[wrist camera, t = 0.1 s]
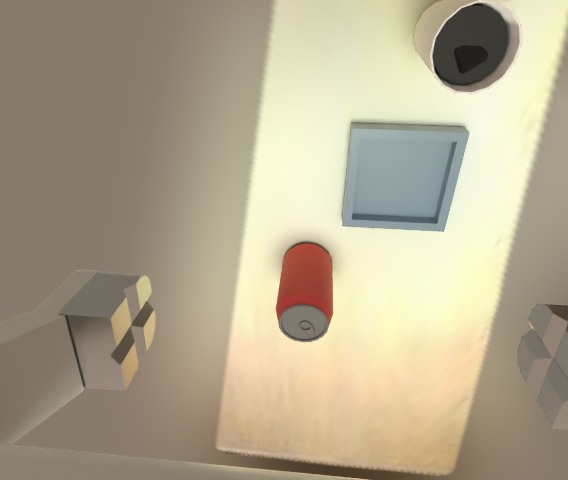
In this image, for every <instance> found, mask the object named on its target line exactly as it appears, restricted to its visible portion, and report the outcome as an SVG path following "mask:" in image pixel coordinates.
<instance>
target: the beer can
mask: <svg viewBox="0 0 568 480" xmlns="http://www.w3.org/2000/svg"><path fill="white" fill-rule="evenodd" d="M276 312H277V318H278V321H279V328H280V329H281V331H282V333H283V334H284V335H286V336H287V337H288V338H290V339H293V340H295V341H300V342H311V341H315V340H318V339H319V338H321V337H323V336H324V334H325V333H326V332H327V330H328V327H329V324H330V321H331V318H332V315H333V281H332V259H331V257H330V255H329V254H328V253H327V252H326V251H325V250H324V249H323V248H321V247H319V246H317V245H314V244H309V243H308V244H300V245H297V246H294V247H293V248H291V249H290V250H289V251H288V252H287V253H286V255H285V256H284V260H283V265H282V272H281V278H280V285H279V292H278V298H277V305H276Z"/></svg>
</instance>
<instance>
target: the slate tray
mask: <svg viewBox="0 0 568 480" xmlns="http://www.w3.org/2000/svg"><path fill="white" fill-rule="evenodd" d="M468 137H469V132H468V131H467V129H466V128H465V127H458V126H430V125H402V124H375V123H351V132H350V142H349V152H348V162H347V172H346V182H345V192H344V203H343V213H342V226H347V227H366V228H385V229H404V230H423V231H442V232H444V230H445V226H446V222H447V218H448V214H449V210H450V206H451V202H452V199H453V195H454V191H455V187H456V183H457V179H458V175H459V171H460V168H461V164H462V160H463V156H464V152H465V148H466V144H467V140H468Z"/></svg>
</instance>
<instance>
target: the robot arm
mask: <svg viewBox="0 0 568 480" xmlns="http://www.w3.org/2000/svg"><path fill="white" fill-rule="evenodd" d="M151 293H152V291H151V286H150V280H149V279H148V277H147V276H146V275H135V274H125V273H114V272H103V271H102V272H100V271H91V270H77V271H74V272H73V273H72V274H71V275H70V276H69V277H68V278H67V279H66V280H65V281H64V282H63V283H61V284H60V285H59V286H58V287H57V288H56V289H55V290H54V291H53V292H52V293H51V294H50V295H49V296H48V297H47V298H46V299H45V300H44V301H43V302H42V303H41V304H40V305H39V306H38V307H37V308H36V309H35V310H34V311H33V312H32V313H27V312H23V313H21V314H19V315H16V316H14V317H11V318H9V319H6V320H4V321H1V322H0V480H367V479H356V478H346V477H335V476H326V475H315V474H305V473H295V472H285V471H275V470H264V469H254V468H243V467H233V466H224V465H213V464H203V463H193V462H183V461H172V460H162V459H152V458H141V457H132V456H122V455H112V454H111V455H110V454H101V453H91V452H81V451H71V450H61V449H49V448H40V447H30V446H20V445H11V444H12V443H14V442H15V441H17V440H18V439H19V438H21V437H22V436H23V435H25V434H26V433H27V432H29V431H30V430H31V429H33V428H34V427H36V426H37V425H38V424H39V423H41V422H42V421H44V420H45V419H46V418H48V417H49V416H50V415H52V414H53V413H54V412H55V411H57V410H58V409H60V408H61V407H62V406H64V405H65V404H66V403H68V402H69V401H70V400H72V399H73V398H74V397H76V396H77V395H78V394H80V393H81V392H83V391H84V388H93V389H110V390H111V389H112V390H126V389H127V387H128V385H129V383H130V381H131V379H132V378H133V376H134V374H135V372H136V370H137V369H138V367H139V365H138V359H137V357H138V356H140V355H142V354H143V353H145V352H146V351H147V350H148V348H149V346H150V344H151V342H152V339H153V335H154V330H155V312H154V308H153V307H152V306H151V305H150V304H149V303H148V302H147V299H148V297H149V296H150V294H151ZM528 321H529V323H530V325H531V327H532V330H530V331H529V332H528V333H526V334H525V335H524V336H522V337H521V340H520V343H519V347H518V366H519V369H520V373H521V374H522V376H523V378H524V380H525V382H526V383H527V384H529V385H530V386H532V387H533V388H534V389H536V390H537V391H538V395H537V397H536V401H537V403H538V405H539V407H540V408H541V410H542V412H543V413H544V415H545V417H546V419H547V420H548V422H549V424H550V426H551V427H552V428H556V429H565V430H568V305H553V304H536V306H535V307H534V308H533V309H532V311H531V313H530V316H529V319H528Z"/></svg>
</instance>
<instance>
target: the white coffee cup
mask: <svg viewBox="0 0 568 480" xmlns="http://www.w3.org/2000/svg"><path fill="white" fill-rule="evenodd" d="M413 38H414V44H415V49H416V51H417V52H418V54H419V55H420V57H421V58H422V60H423V61H424V62H425V64H426V65H427V66H428V68H429V69H430V71H431V72H432V73H433V75H434V76H435V78H436V79H437V80H438V82H439V83H440V85H441V86H443V87H445V88H446V89H448V90H450V91H452V92H454V93H460V94H474V93H477V92H480V91H484V90H487V89H489V88H490V87H492V86H493V85H495V84H496V83H497V82H499V81H500V80H502V79H503V78H504V77H505V76H506V74H507V73H508V72H509V70H510V69H511V68H512V66H513V65H514V64H515V63H516V60H517V57H518V54H519V51H520V48H521V45H522V31H521V24H520V22H519V20H518V18H517V17H516V15H515V13H514V11H513V10H512V9H511V8H509V7H507V6H506V5H504V4H502V3H501V2H499V1H492V0H441V1H438V2H435V3H433V4H432V5H431V6H430V7H428V8H427V9H426V10H425V11H424V12H423V13H422V15H421V16H420V18H419V20H418V22H417V23H416V26H415V31H414V36H413Z"/></svg>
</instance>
